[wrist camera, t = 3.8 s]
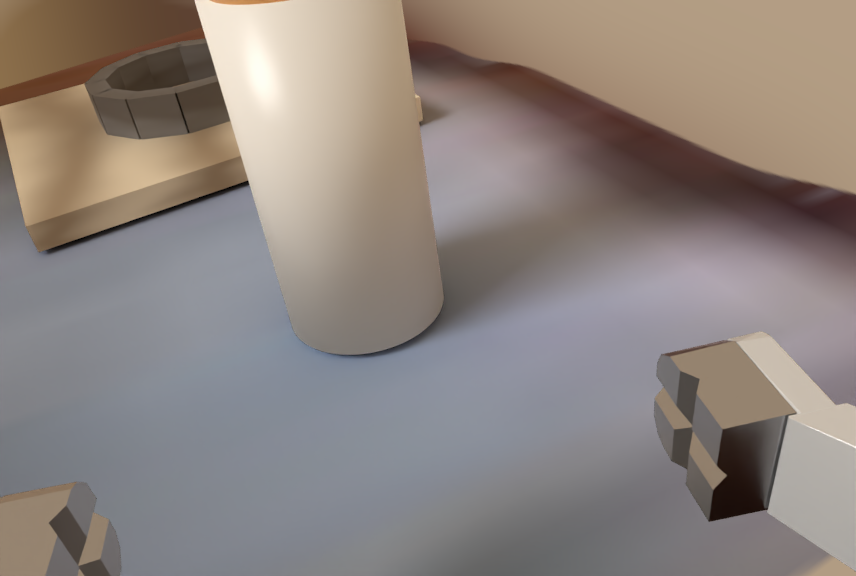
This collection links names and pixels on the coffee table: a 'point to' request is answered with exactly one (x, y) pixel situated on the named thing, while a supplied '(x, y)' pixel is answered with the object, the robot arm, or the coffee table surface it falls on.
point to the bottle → (332, 163)
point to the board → (123, 144)
